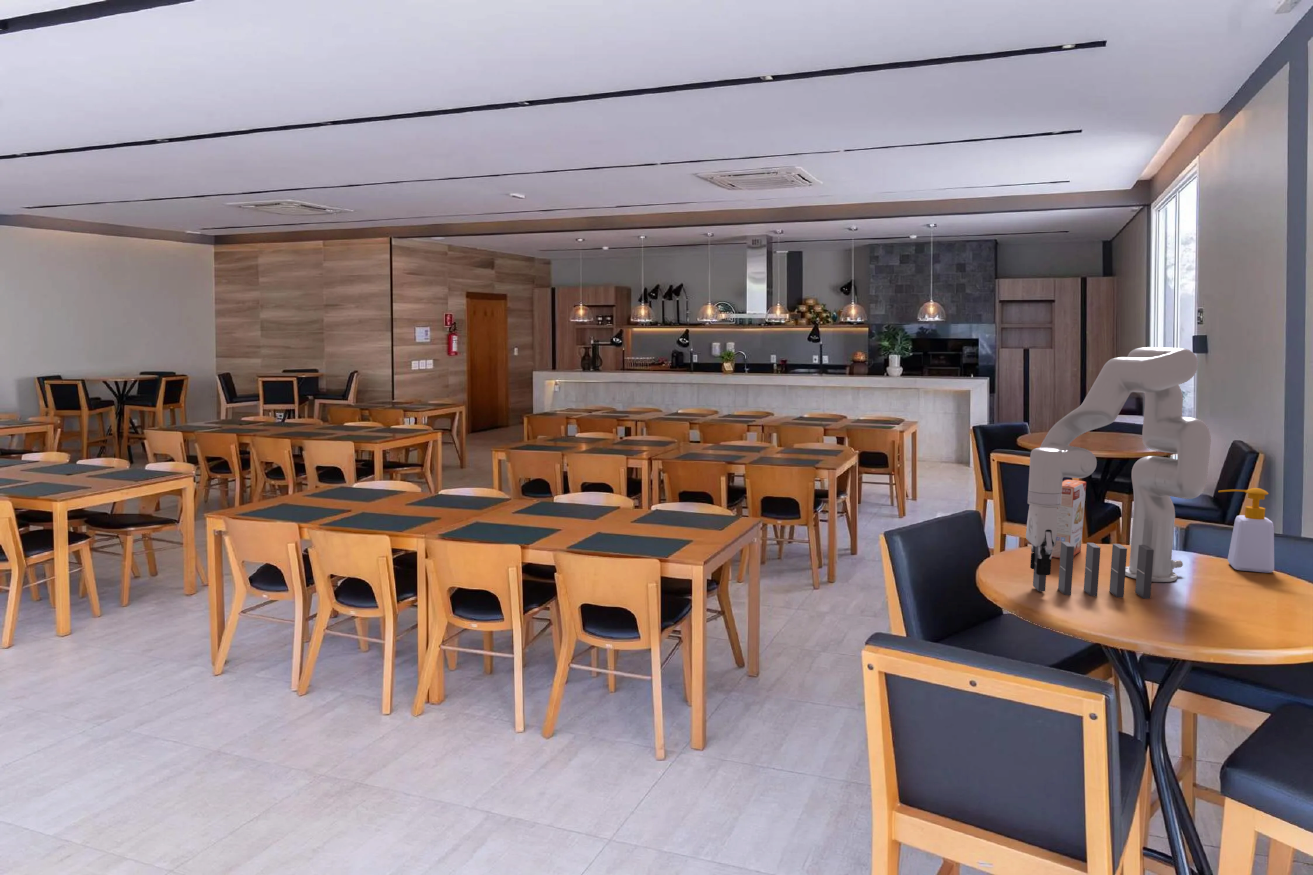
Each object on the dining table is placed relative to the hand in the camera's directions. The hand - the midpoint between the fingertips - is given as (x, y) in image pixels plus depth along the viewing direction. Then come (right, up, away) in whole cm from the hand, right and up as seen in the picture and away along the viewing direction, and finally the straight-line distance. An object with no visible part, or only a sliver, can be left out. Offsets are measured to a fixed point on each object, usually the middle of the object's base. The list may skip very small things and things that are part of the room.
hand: (1040, 571), depth 225 cm
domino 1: (0, -4, 0) cm, 4 cm away
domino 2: (+6, -5, 0) cm, 8 cm away
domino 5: (+24, -6, -3) cm, 25 cm away
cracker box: (+23, -1, +38) cm, 45 cm away
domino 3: (+12, -5, -1) cm, 13 cm away
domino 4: (+18, -5, -2) cm, 19 cm away
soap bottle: (+65, -3, +25) cm, 70 cm away
